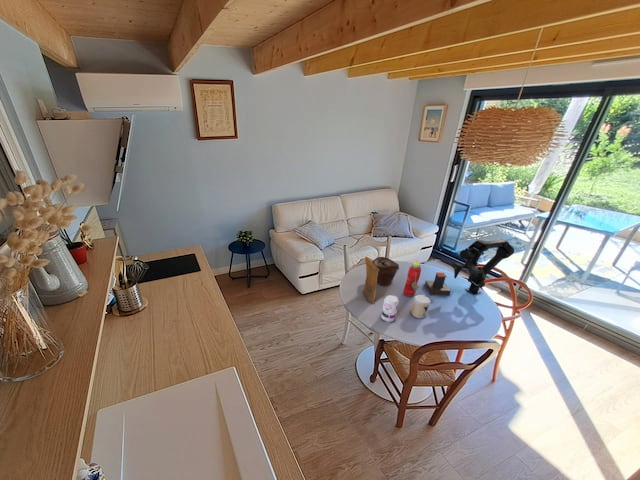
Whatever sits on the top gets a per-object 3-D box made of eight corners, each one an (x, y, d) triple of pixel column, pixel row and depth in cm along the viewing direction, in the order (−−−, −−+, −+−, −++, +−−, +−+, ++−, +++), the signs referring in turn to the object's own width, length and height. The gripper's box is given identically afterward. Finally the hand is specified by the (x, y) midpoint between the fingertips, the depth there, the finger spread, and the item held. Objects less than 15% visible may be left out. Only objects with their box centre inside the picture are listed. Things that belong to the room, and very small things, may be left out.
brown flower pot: (373, 272, 226) (376, 252, 218) (398, 279, 216) (403, 259, 207) (364, 282, 214) (368, 261, 205) (391, 290, 204) (396, 268, 195)
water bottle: (416, 301, 192) (425, 269, 180) (404, 299, 194) (412, 267, 182) (413, 291, 202) (422, 260, 190) (401, 290, 204) (409, 259, 192)
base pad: (442, 285, 209) (443, 281, 207) (449, 295, 198) (451, 290, 196) (424, 285, 210) (425, 280, 208) (430, 294, 199) (432, 290, 197)
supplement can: (394, 315, 179) (399, 295, 172) (394, 323, 172) (399, 303, 165) (381, 312, 182) (385, 293, 174) (380, 320, 175) (384, 301, 167)
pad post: (438, 288, 206) (443, 272, 199) (441, 292, 202) (446, 276, 195) (431, 287, 206) (436, 272, 200) (434, 291, 202) (438, 276, 196)
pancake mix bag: (367, 304, 189) (373, 268, 175) (359, 289, 206) (364, 254, 192) (377, 304, 189) (384, 268, 176) (368, 288, 206) (374, 254, 192)
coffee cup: (424, 320, 174) (429, 305, 168) (408, 315, 179) (412, 300, 173) (426, 312, 181) (431, 297, 175) (411, 308, 186) (415, 293, 180)
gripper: (464, 260, 178) (453, 282, 185) (493, 267, 178) (481, 288, 185) (456, 254, 189) (446, 274, 195) (484, 260, 188) (472, 281, 195)
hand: (461, 279), depth 192 cm, fingers open, 9 cm apart
